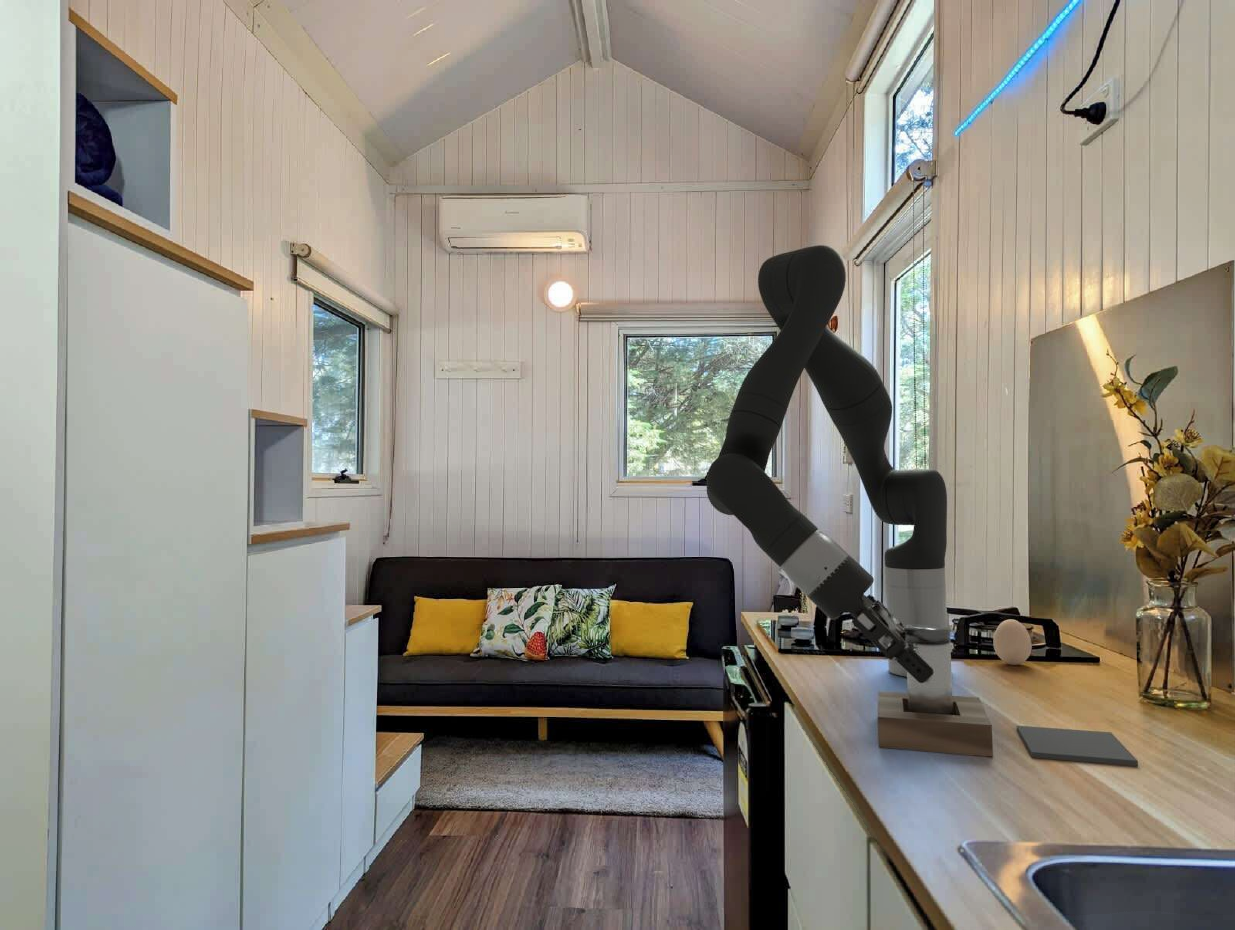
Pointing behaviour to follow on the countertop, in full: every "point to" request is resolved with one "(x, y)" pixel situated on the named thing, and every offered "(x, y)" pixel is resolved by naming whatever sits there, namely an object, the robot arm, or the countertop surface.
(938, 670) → the grey lidded canister
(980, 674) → the countertop surface
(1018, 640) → the egg
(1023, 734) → the rubber mat
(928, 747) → the walnut holder
